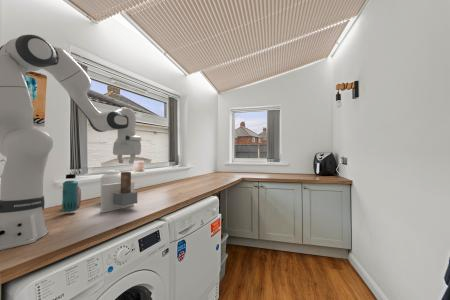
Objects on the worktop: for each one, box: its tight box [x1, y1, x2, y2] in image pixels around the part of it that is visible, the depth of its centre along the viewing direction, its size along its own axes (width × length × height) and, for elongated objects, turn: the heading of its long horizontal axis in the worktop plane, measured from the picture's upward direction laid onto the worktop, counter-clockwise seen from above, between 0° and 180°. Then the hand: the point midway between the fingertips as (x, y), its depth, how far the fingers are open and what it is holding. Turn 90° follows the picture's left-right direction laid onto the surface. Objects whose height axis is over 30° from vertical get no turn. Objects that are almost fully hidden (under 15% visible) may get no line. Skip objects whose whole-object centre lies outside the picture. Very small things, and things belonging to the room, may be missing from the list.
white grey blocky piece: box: [100, 181, 138, 213], centre depth 116 cm, size 18×12×14 cm, turn 148°
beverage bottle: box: [61, 173, 79, 213], centre depth 108 cm, size 6×7×20 cm
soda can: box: [77, 185, 82, 209], centre depth 119 cm, size 7×7×12 cm
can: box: [100, 169, 121, 186], centre depth 136 cm, size 12×12×20 cm
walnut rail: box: [120, 171, 132, 194], centre depth 115 cm, size 4×4×16 cm
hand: (125, 163), depth 115 cm, fingers open, 8 cm apart
